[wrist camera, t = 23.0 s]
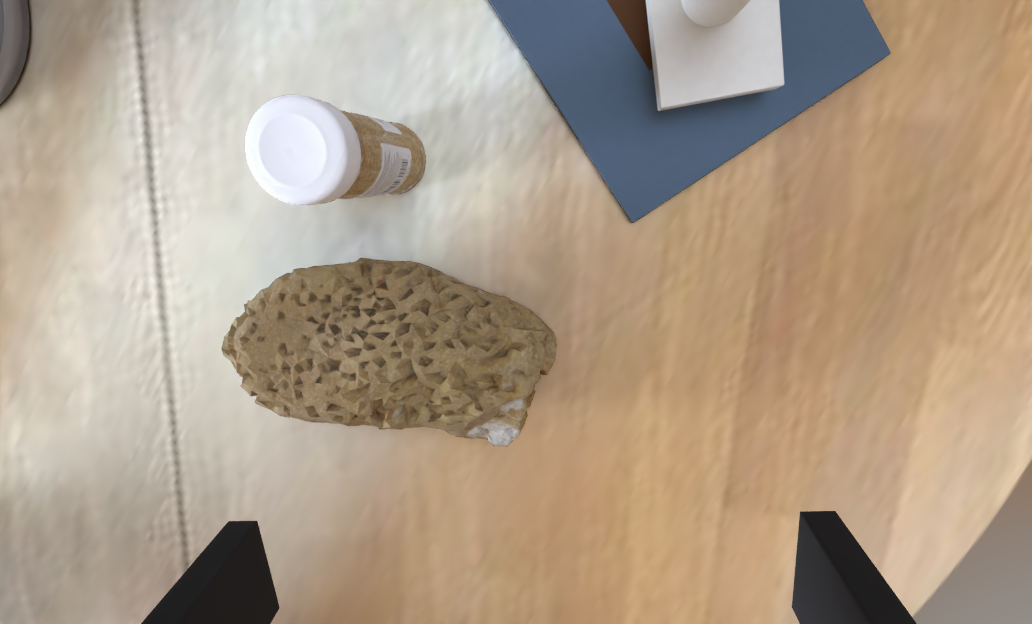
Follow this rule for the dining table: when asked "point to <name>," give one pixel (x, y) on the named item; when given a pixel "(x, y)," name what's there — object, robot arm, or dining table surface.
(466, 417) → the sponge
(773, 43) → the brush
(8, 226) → the dining table surface
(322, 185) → the sprinkles bottle
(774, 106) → the mat
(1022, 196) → the dining table surface
